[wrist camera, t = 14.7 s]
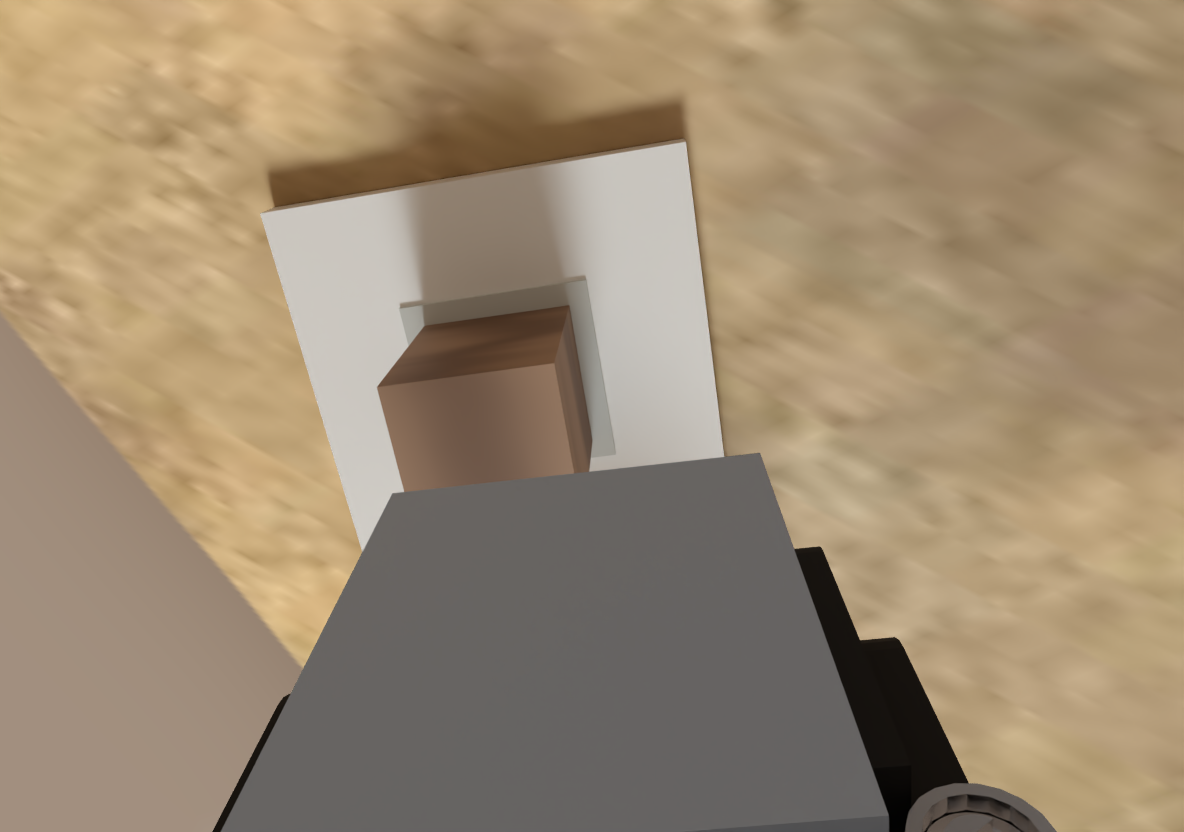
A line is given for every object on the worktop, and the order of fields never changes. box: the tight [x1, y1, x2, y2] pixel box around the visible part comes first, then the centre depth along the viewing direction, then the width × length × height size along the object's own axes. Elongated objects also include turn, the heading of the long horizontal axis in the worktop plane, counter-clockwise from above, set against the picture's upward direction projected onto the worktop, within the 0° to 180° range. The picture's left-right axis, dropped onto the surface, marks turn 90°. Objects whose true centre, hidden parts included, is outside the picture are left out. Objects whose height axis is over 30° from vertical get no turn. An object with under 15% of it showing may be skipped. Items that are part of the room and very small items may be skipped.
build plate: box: [260, 139, 724, 552], centre depth 31 cm, size 14×14×1 cm
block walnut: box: [377, 305, 593, 492], centre depth 28 cm, size 5×5×6 cm
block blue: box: [221, 453, 889, 832], centre depth 10 cm, size 5×5×6 cm
